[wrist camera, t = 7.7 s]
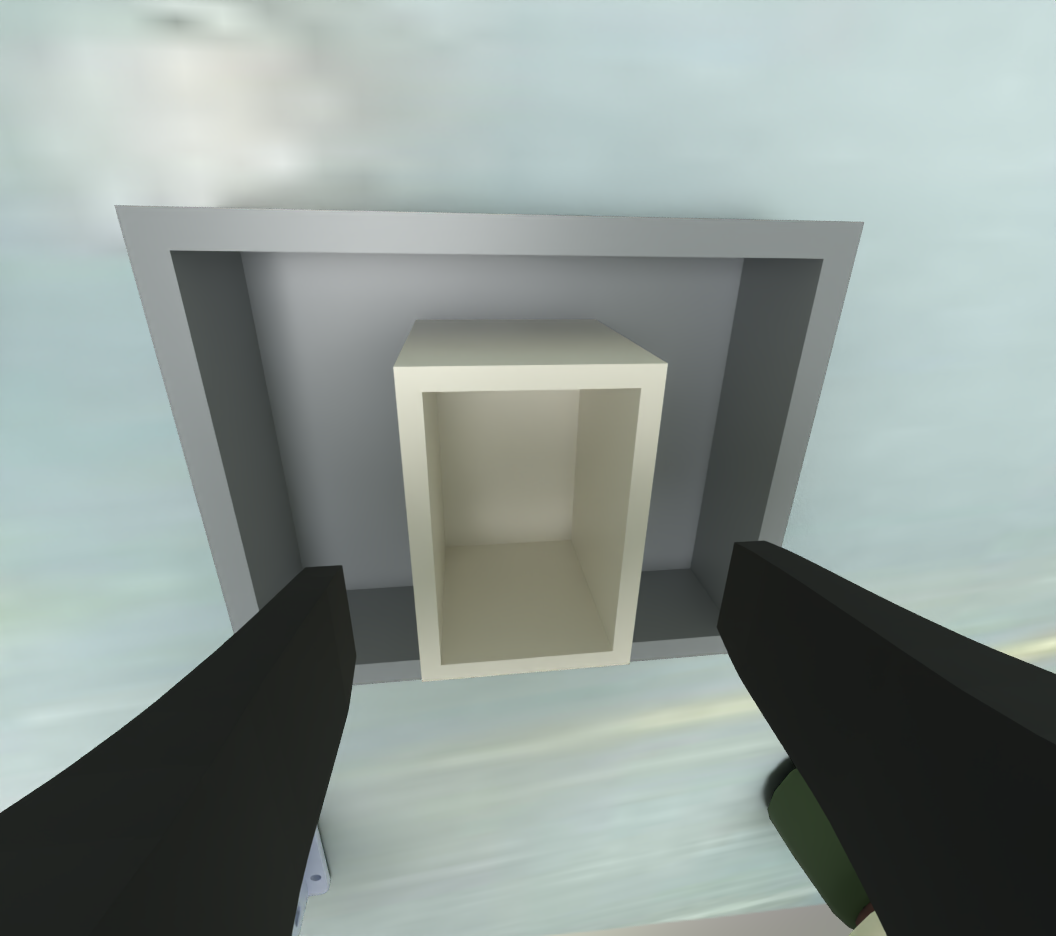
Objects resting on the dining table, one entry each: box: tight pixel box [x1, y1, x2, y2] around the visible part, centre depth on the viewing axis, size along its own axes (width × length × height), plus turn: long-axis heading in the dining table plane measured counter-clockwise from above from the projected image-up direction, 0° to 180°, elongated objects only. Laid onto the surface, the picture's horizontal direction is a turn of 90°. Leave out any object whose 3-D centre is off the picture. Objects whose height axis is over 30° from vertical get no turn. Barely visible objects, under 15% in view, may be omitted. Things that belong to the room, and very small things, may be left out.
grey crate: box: [115, 205, 864, 685], centre depth 16 cm, size 13×16×4 cm
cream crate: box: [393, 319, 668, 682], centre depth 14 cm, size 8×5×6 cm
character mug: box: [768, 768, 887, 936], centre depth 23 cm, size 11×7×13 cm, turn 100°
